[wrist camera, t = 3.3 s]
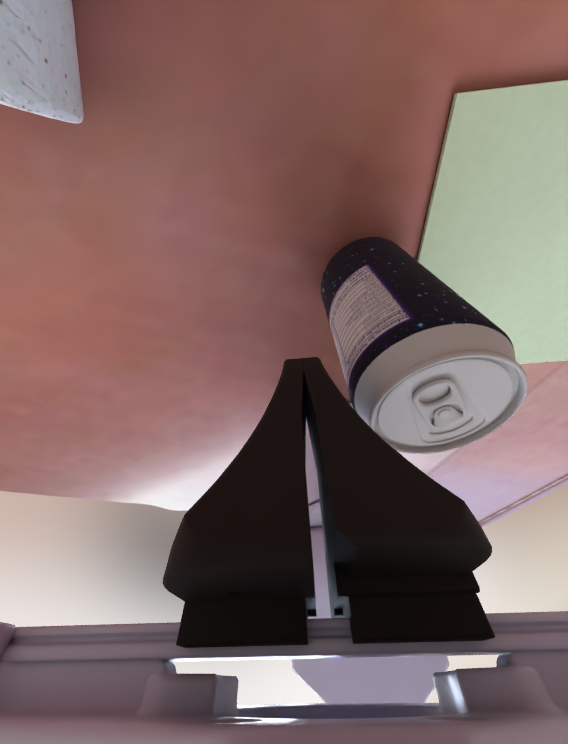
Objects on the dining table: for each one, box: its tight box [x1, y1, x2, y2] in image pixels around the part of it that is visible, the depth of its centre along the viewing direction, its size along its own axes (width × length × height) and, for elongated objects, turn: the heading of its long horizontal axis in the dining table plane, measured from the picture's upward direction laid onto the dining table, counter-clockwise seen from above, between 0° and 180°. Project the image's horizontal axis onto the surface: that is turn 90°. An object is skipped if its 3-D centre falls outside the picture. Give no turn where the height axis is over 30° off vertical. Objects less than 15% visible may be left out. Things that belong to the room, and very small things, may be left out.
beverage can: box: [321, 237, 528, 454], centre depth 13 cm, size 6×6×12 cm
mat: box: [417, 80, 568, 364], centre depth 17 cm, size 17×17×1 cm
